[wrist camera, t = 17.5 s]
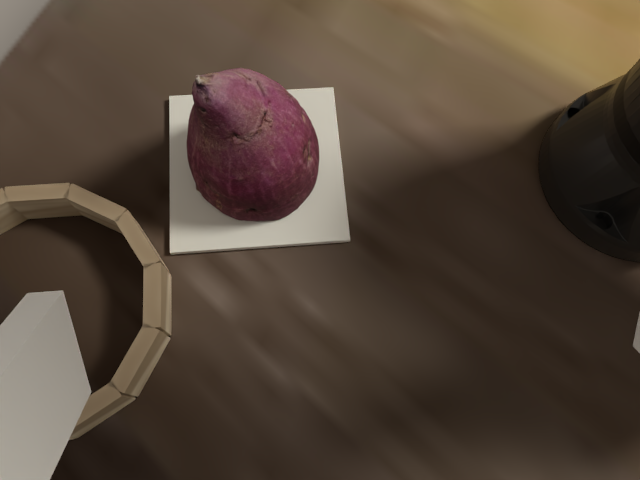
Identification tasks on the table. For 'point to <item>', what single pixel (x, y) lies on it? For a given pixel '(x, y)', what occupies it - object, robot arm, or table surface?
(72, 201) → the segmented wooden ring
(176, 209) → the white mat
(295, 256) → the table surface
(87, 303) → the table surface
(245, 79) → the vegetable
